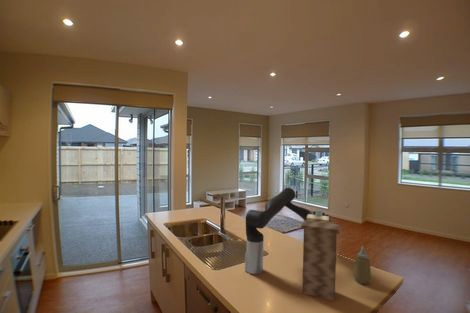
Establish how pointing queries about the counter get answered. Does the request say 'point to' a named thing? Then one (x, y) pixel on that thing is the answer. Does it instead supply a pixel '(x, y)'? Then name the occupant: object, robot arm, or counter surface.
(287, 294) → the counter surface
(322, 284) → the stand
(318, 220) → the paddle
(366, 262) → the squeeze bottle
